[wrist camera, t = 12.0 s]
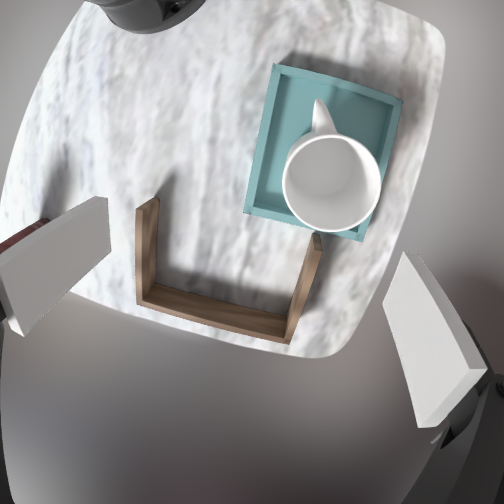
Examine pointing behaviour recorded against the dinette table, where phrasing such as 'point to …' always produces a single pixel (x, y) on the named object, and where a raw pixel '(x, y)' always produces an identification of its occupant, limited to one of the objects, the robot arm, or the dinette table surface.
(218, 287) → the dinette table surface
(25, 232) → the can
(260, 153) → the tray
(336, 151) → the mug
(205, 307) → the bay
